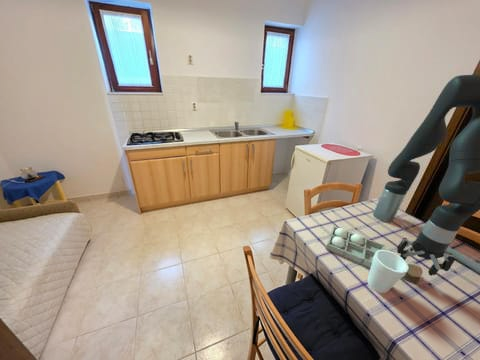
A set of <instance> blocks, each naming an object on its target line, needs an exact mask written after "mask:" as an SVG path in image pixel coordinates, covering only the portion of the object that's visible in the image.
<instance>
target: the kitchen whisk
mask: <svg viewBox="0 0 480 360" xmlns="http://www.w3.org/2000/svg"><path fill="white" fill-rule="evenodd" d="M406 222H407V223H411V224H413V225H414V226H416V227H417V228H419V229H420V230H418V229H417V228H415V227H413V226H411V225H410V224H405V223H406ZM400 225H401V227H402V229H403V231H404V232H406V233H410V232H411V233H410V235H412V236H415V237H416V238H417V237H418V235H419V234H420V232H421V230H422V229H423V227H424V225H423V226H422V225H421V224H419V223H418V222H415V220H410V219H409V220H406V219H405V220H404V221H401V224H400ZM403 225H405V226H406V227H405V226H404V227H403ZM407 227H408V228H410V229H411V228H413V231H414V232H416V233H417V234H418V235H417V236H416V235H415V234H413V233H412V231H410V230H409V229H407ZM444 253H446V254H449V253H452V254H453V256H454V258H455V260H457V261H459V262H460V263H462V264H463V265H465V266H467V267H469V269H472V270H473V271H475V272H476V273H478V274H480V265H479V264H478V263H476V262H474V260H471V259H470V258H467V256H465V255H463V254H462V253H460V252H458V251H456V250H454V249H453V248H451V247H450V246H448V248H447V249H446V250H445V252H444Z"/></svg>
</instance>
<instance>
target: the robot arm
mask: <svg viewBox="0 0 480 360" xmlns="http://www.w3.org/2000/svg"><path fill="white" fill-rule="evenodd" d="M454 108H472V115H471V117H470V120H469V122H468V123H467V125H466V126H465V127H463V129H462V130H461V132H459V134H457V136H456V137H455V138H454V139H453V141H452V142H451V144H450V147H449V157H448V167H447V169H446V171H445V174H444V175H443V177H442V180H441V182H440V184H439V187H438V194H439V197H440V198H441V199H442V200H443V201H444V202H446V203H449V204H442V205H438V206H437V207H436V208H435V209H434V210H433V212H432V214H431V215H430V217H429V219H428V220H427V221H426V222H425V224H424V225H423V227H422V228H421V229H420V232H419V233H420V234H419V233H418V235H417V237H416V238H415V240H414V241H412V240H409V239H408V238H407V237H403V238H402V240H401V241H400V242H399V244H398V246H396V253H397V254H398V255H399V254H400V255H399V256H400V257H402V258H403V259H404V260H405V261H406V259H407V257H414V256H417V257H420V258H423V259H425V260H427V261H430V260H431V261H432V265H431V267H430V268H429V269H428V272H427V273H428V275H429V276H431V277H433V276H435V275H437V273H438V272H439V271H440V270H443V271H444V272H449V270H450V269H451V267H452V266H453V264H454V262H455V260H456V258H454V256H453V254H452V253H449V254H448V253H446V252H445V250H446V249H447V248H448V247H450V245H451V243H452V242H453V241H454V239H455V237H456V236H457V233H458V232H459V230H460V228H461V227H462V226H463V224H464V223H465V221H467V220H468V219H469V218H471V217H472V216H473V215H475V214H476V213H478V212H479V211H480V182H479V181H470V180H465V179H466V177H467V175H472V174H477V173H480V73H479V74H461V75H457V76H454V77H453V78H451V79H450V80H449V81H448V82H447V83H446V85H445V86H444V87H443V88H442V91H441V92H440V94H438V97H437V99H436V101H435V102H434V104H433V105H432V107H431V109H430V111H429V112H428V113H427V116H426V117H425V118H424V119H423V121H422V122H421V123H420V125H419V127H418V128H416V130H415V132H414V133H413V135H412V136H411V137H410V138H409V140H408V142H407V143H406V145H404V147H403V149H402V150H401V151H400V153H399V154H397V156H396V157H395V158H394V159H393V160H392V161H391V163H390V165H388V169H387V175H388V176H389V177H390V178H394V179H397V180H391V181H388V182H386V183H385V186H384V187H383V190H382V192H381V195H380V197H379V200H378V202H377V204H376V206H375V209H374V211H373V214H372V215H373V217H375V218H376V219H377V220H379V221H381V222H384V223H392V222H393V221H394V219H395V217H396V215H397V213H398V211H399V209H400V207H401V205H402V203H403V202H404V199H405V197H406V195H407V193H408V191H410V189H411V187H412V185H413V183H414V182H415V180H416V178H417V176H418V175H419V173H420V170H421V165H420V163H419V162H417V161H413V160H415V159H419V158H421V157H424V156H426V155H429V154H431V153H432V152H434V151H436V150H437V149H438V147H440V145H441V144H442V143H443V142H444V141H445V139H447V135H448V129H447V127H448V126H447V125H446V116H447V114H448V113H449V112H450V111H451V110H452V109H454ZM409 246H410V247H409ZM406 247H408V248H406ZM405 248H406V249H405ZM440 258H444V260H443V262H442V263H439V260H438V259H440Z"/></svg>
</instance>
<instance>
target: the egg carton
mask: <svg viewBox="0 0 480 360" xmlns="http://www.w3.org/2000/svg"><path fill="white" fill-rule="evenodd" d="M338 228H339V227H337V226H333V227H332V229H331V233H330V235H329V238H328V241H327V243H326V247H325V250H326V249H327V251H330V253H333V254H336V255H338V256H340V257H343V258H346V259H348V260H349V261H352V262H355V263H357V264H359V265H361V266H363V267H366V268H369V269H371V265H372V261H373V256H374V254H375V253H376V251H377V250H381V249H382V250H386V248H385V245H386V244H383V243H380V242H377V241H374V240H372V239H369V238H367V237H364V236H362V237H363V240H364V241H363V244H362V245H357V244H354V243H352V242H351V236H352V235H354V234H355V233H353V232H350V231H348V230H345V231H346V233H347V236H346V237H345V238H344V239H343V240H344V246H343V247H342V248H338V247H335V246H333V245H332V239H333V238H334V237H336V236H335V230H336V229H338Z"/></svg>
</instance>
